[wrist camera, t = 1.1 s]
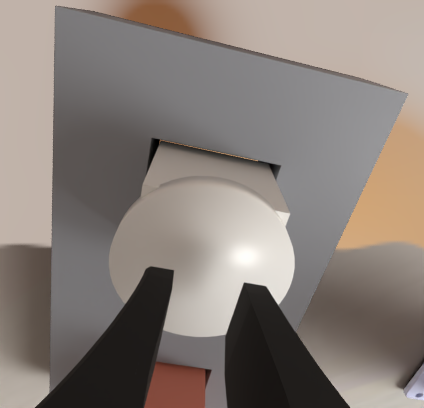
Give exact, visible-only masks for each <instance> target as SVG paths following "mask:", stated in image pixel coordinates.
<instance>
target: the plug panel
mask: <svg viewBox="0 0 424 408" xmlns="http://www.w3.org/2000/svg"><path fill="white" fill-rule="evenodd" d="M407 96H408V93H404V92H402V91H398V90H395V89H392V88H389V87H386V86H383V85H380V84H377V83H374V82H371V81H368V80H365V79H361V78H358V77H354V76H350V75H346V74H342V73H338V72H334V71H330V70H326V69H322V68H318V67H314V66H310V65H306V64H302V63H298V62H294V61H290V60H286V59H282V58H278V57H274V56H270V55H266V54H262V53H258V52H254V51H250V50H246V49H242V48H238V47H234V46H230V45H226V44H222V43H218V42H214V41H210V40H206V39H202V38H198V37H194V36H190V35H186V34H183V33H179V32H174V31H170V30H167V29H163V28H159V27H154V26H151V25H146V24H143V23H139V22H135V21H131V20H126V19H122V18H119V17H115V16H111V15H107V14H103V13H98V12H95V11H89V10H81V9H75V8H68V7H61V6H55V51H54V121H53V188H52V189H53V190H52V192H53V193H52V257H51V326H50V392H51V391H52V390H53V389H54V388H55V387H56V386H57V385H58V384H59V383H60V382H61V381H62V380H63V379H64V378H65V377H66V376H67V375H68V373H69V372H70V371H71V370H72V369H73V368H74V367H75V366H76V365H77V364H78V362H79V361H80V360H81V359H82V358H83V357H84V356H85V355H86V353H87V352H88V351H89V350H90V349H91V347H92V346H93V345H94V344H95V343H96V341H97V340H98V339H99V338H100V337H101V335H102V334H103V333H104V332H105V331H106V329H107V328H108V327H109V326H110V324H111V323H112V322H113V320H114V319H115V317H116V316H117V315H118V313H119V312H120V311H121V309H122V308H123V307H124V305H125V303H124V302H123V301H122V300H121V298H120V297H119V295H118V294H117V292H116V290H115V287H114V285H113V283H112V279H111V276H110V270H109V253H110V248H111V244H112V241H113V238H114V236H115V233H116V231H117V229H118V227H119V225H120V222H121V220H122V219H123V217H124V215H125V213H126V212H127V211H128V209H129V208H130V207H131V206H132V204H133V203H134V202H135V201H136V200H137V199H139V198H140V197H141V192H142V185H143V182H144V180H145V177H146V175H147V173H148V170H149V168H150V165H151V163H152V161H153V158H154V156H155V154H156V151H157V149H158V147H159V141H160V139H161V140H165V141H170V142H175V143H179V144H184V145H188V146H193V147H198V148H202V149H207V150H212V151H217V152H221V153H226V154H231V155H236V156H240V157H245V158H249V159H254V160H258V162H263V163H268V164H269V166H270V169H271V171H272V173H273V175H274V178H275V180H276V182H277V185H278V187H279V189H280V191H281V194H282V196H283V198H284V200H285V203H286V205H287V207H288V210H289V212H290V216H289V218H288V221H287V224H286V226H285V227H286V230H287V232H288V235H289V238H290V240H291V243H292V246H293V251H294V257H295V269H294V274H293V279H292V282H291V285H290V288H289V289H288V291H287V293H286V295H285V297H284V298H283V300H282V301H281V302H280V304H279V305H278V306H279V307H280V309H281V310H282V312H283V314H284V315H285V317H286V318H287V320H288V321H289V323H290V324H291V326H292V328H293V329H294V331H295V332H296V331H297V329H298V327H299V325H300V322H301V320H302V318H303V316H304V314H305V312H306V310H307V308H308V306H309V303H310V301H311V299H312V297H313V295H314V293H315V291H316V289H317V286H318V284H319V282H320V280H321V278H322V276H323V274H324V272H325V270H326V267H327V265H328V263H329V261H330V259H331V257H332V255H333V253H334V250H335V248H336V246H337V244H338V242H339V240H340V238H341V236H342V233H343V231H344V229H345V227H346V225H347V223H348V221H349V219H350V216H351V214H352V212H353V210H354V208H355V206H356V204H357V202H358V200H359V197H360V195H361V193H362V191H363V189H364V187H365V185H366V183H367V181H368V178H369V176H370V174H371V172H372V170H373V168H374V166H375V164H376V161H377V159H378V157H379V155H380V153H381V151H382V149H383V147H384V145H385V142H386V140H387V138H388V136H389V134H390V132H391V130H392V127H393V125H394V123H395V121H396V119H397V117H398V115H399V113H400V111H401V108H402V106H403V104H404V102H405V100H406V98H407ZM225 336H226V335H220V336H212V337H192V336H184V335H179V334H174V333H171V332H168V331H164V330H163V332H162V337H161V341H160V346H159V350H158V355H157V359H156V362H162V363H169V364H176V365H183V366H190V367H197V368H204V369H205V408H227V399H226V388H225V375H224V371H225Z"/></svg>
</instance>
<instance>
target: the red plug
mask: <svg viewBox="0 0 424 408" xmlns="http://www.w3.org/2000/svg"><path fill="white" fill-rule="evenodd" d="M144 408H205V369H204V368H197V367H190V366H183V365H176V364H169V363H162V362H156V364H155V368H154V372H153V376H152V379H151V383H150V387H149V391H148V395H147V399H146V403H145V407H144Z"/></svg>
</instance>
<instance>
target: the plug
mask: <svg viewBox="0 0 424 408" xmlns="http://www.w3.org/2000/svg"><path fill="white" fill-rule="evenodd" d="M289 216H290V212H289V210H288V207H287V205H286V203H285V200H284V198H283V196H282V194H281V191H280V189H279V187H278V185H277V182H276V180H275V178H274V175H273V173H272V171H271V169H270V166H269V164H268V163H263V162H258V161H253V160H249V159H244V158H240V157H235V156H230V155H226V154H221V153H216V152H212V151H207V150H202V149H198V148H193V147H188V146H184V145H179V144H174V143H170V142H165V141H161V142H160V144H159V147H158V149H157V151H156V154H155V156H154V158H153V161H152V163H151V165H150V168H149V170H148V173H147V175H146V177H145V180H144V182H143V185H142V192H141V197H140V198H139V199H137V200H136V201H135V202H134V203H133V204H132V206H131V207H130V208H129V209H128V211H127V212H126V213H125V215H124V217H123V219H122V220H121V222H120V225H119V227H118V229H117V231H116V233H115V236H114V238H113V241H112V244H111V248H110V253H109V270H110V276H111V279H112V283H113V285H114V287H115V290H116V292H117V294H118V295H119V297H120V298H121V300H122V301H123V302H124V303H125V304H126V302H127V301H128V299H129V298H130V296H131V295H132V293H133V292H134V290H135V289H136V287H137V285H138V284H139V282H140V280H141V278H142V276H143V274H144V272H145V269H146V268H148V267H150V266H153V267H159V268H165V269H170V270H174V277H173V286H172V292H171V297H170V301H169V306H168V310H167V315H166V319H165V323H164V328H163V330H164V331H168V332H171V333H174V334H179V335H184V336H192V337H212V336H220V335H226V333H227V330H228V327H229V324H230V321H231V318H232V315H233V313H234V310H235V307H236V304H237V301H238V298H239V295H240V292H241V289H242V286H243V283H244V282H245V283H251V284H257V285H263V286H266V287H267V288H268V290H269V291H270V293H271V295H272V296H273V298H274V299H275V301H276V302H277V304H278V305H279V304H280V302H281V301H282V300H283V298H284V297H285V295H286V293H287V291H288V289H289V288H290V285H291V282H292V279H293V274H294V269H295V257H294V251H293V246H292V243H291V240H290V238H289V235H288V232H287V230H286V227H285V226H286V224H287V221H288V218H289Z"/></svg>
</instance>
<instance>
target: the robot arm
mask: <svg viewBox="0 0 424 408" xmlns="http://www.w3.org/2000/svg"><path fill="white" fill-rule="evenodd" d="M173 277H174V270H170V269H165V268H159V267H153V266H150V267H148V268H146V269H145V272H144V274H143V276H142V278H141V280H140V282H139V284H138V285H137V287H136V289H135V290H134V292H133V293H132V295H131V296H130V298H129V299H128V301H127V302H126V304H125V305H124V307H123V308H122V309H121V311H120V312H119V313H118V315H117V316H116V317H115V319H114V320H113V322H112V323H111V324H110V326H109V327H108V328H107V329H106V331H105V332H104V333H103V334H102V335H101V337H100V338H99V339H98V340H97V341H96V343H95V344H94V345H93V346H92V347H91V349H90V350H89V351H88V352H87V353H86V355H85V356H84V357H83V358H82V359H81V360H80V361H79V362H78V364H77V365H76V366H75V367H74V368H73V369H72V370H71V371H70V372H69V373H68V375H67V376H66V377H65V378H64V379H63V380H62V381H61V382H60V383H59V384H58V385H57V386H56V387H55V388H54V389H53V390H52V391H51V392H50V393H49V394H48V395H47V396H46V397H45V398H44V399H43V400H42V401H41V402H40V403H39V404H38V405H37V406H36V407H35V408H144V407H145V403H146V399H147V395H148V391H149V387H150V383H151V379H152V376H153V372H154V368H155V364H156V359H157V355H158V350H159V346H160V341H161V337H162V332H163V328H164V323H165V319H166V315H167V310H168V306H169V301H170V297H171V292H172V286H173ZM224 375H225V388H226V399H227V408H350V407H349V405H348V404H347V403H346V402H345V400H344V399H343V398H342V397H341V395H340V394H339V393H338V391H337V390H336V389H335V387H334V386H333V385H332V383H331V382H330V381H329V379H328V378H327V377H326V375H325V374H324V373H323V371H322V370H321V369H320V367H319V366H318V364H317V363H316V362H315V360H314V359H313V357H312V356H311V354H310V353H309V352H308V350H307V349H306V347H305V346H304V344H303V343H302V341H301V340H300V338H299V337H298V335H297V334H296V332H295V331H294V329H293V328H292V326H291V324H290V323H289V321H288V320H287V318H286V317H285V315H284V314H283V312H282V310H281V309H280V307H279V306H278V304H277V302H276V301H275V299H274V298H273V296H272V295H271V293H270V291H269V290H268V288H267V287H266V286H263V285H257V284H251V283H245V282H244V283H243V286H242V289H241V292H240V295H239V298H238V301H237V304H236V307H235V310H234V313H233V315H232V318H231V321H230V324H229V327H228V330H227V333H226V336H225V371H224ZM404 394H405V395H406V397H408V398H412V399H419V400H424V363H423V365H422V366H421V367H420V369H419V370H418V371H417V373H416V374H415V375H414V377H413V378H412V379H411V381H410V382H409V383H408V384H407V386H406V387H405V388H404Z"/></svg>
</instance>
